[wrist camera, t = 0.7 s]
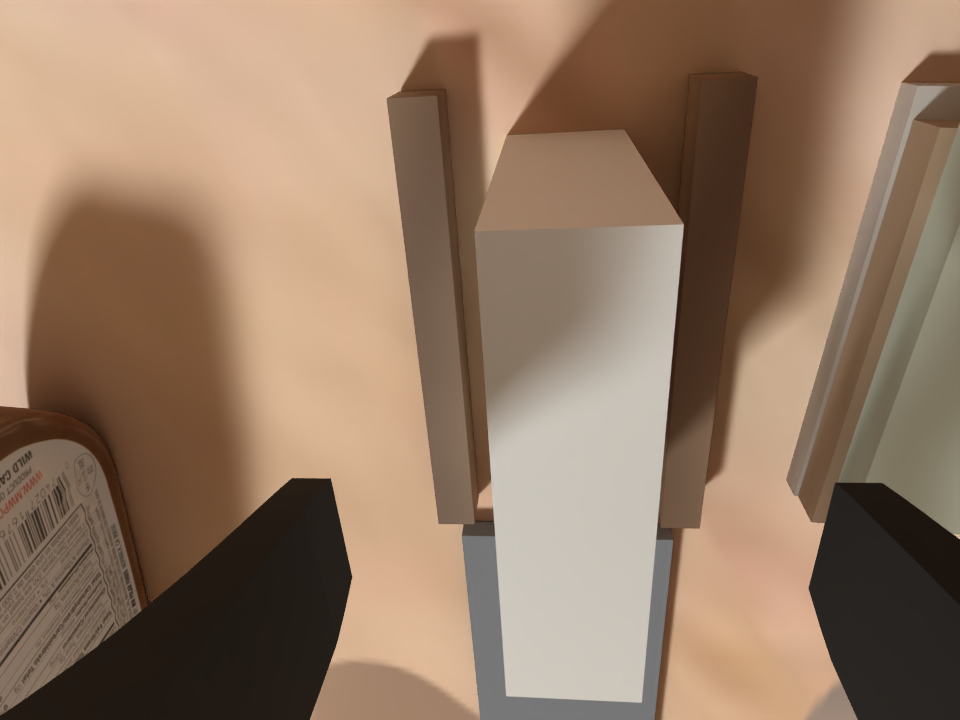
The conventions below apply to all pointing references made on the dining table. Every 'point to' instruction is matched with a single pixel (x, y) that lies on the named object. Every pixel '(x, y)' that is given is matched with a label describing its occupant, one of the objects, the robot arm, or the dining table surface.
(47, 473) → the brown rounded slab
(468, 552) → the mat
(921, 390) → the olive rounded oblong piece
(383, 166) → the dining table surface
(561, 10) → the dining table surface
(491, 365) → the block
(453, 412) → the rack
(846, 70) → the dining table surface
